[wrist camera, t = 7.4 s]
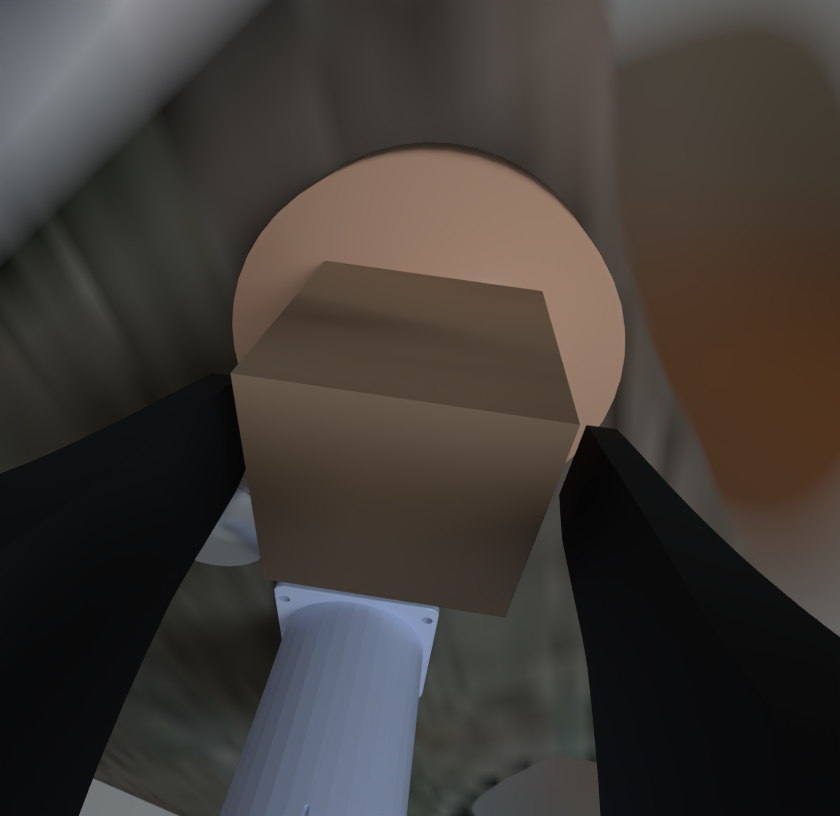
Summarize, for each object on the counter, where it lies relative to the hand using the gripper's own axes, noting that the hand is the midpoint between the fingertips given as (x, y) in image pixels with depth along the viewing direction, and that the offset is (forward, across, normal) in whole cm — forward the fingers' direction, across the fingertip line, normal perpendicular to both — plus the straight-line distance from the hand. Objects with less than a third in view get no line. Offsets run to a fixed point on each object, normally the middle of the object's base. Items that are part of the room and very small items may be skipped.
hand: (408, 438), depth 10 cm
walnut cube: (+3, 0, 0) cm, 3 cm away
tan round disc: (+5, 0, 0) cm, 5 cm away
